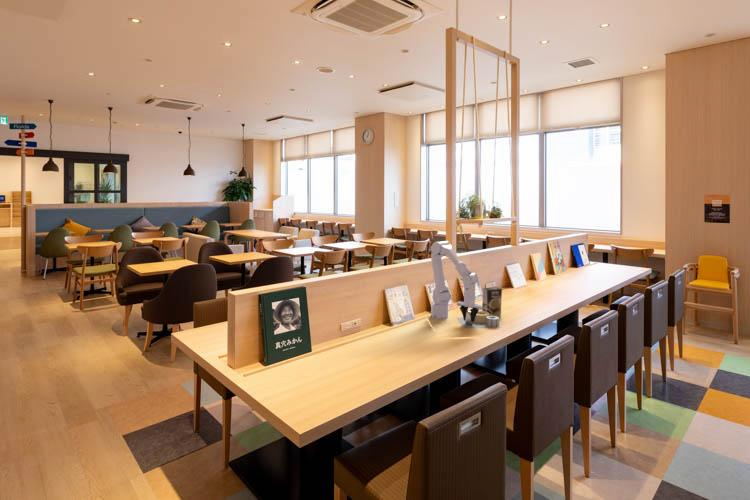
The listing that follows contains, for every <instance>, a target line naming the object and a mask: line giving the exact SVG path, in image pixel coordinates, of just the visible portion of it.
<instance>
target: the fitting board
mask: <svg viewBox="0 0 750 500" xmlns="http://www.w3.org/2000/svg"><path fill="white" fill-rule="evenodd" d="M456 319H457V320H458V322H459V323H460V324H461V325H462V327H463V328H464V329H494V328H495V329H497V328H501V329H502V328H504V327H503V326H502V325H501V324H500V316H499V317H498V316H497V315H493V316H490V313H488V312H485V311H482V310H479V311H478V312H477V314H476V317H475V321H474V322H473V325H466V324H465V320H464V318H463V316H461V317H456Z"/></svg>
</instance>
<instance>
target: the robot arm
mask: <svg viewBox="0 0 750 500" xmlns="http://www.w3.org/2000/svg"><path fill="white" fill-rule="evenodd" d="M430 251H431V253H430V258H431V259H430V260H431V267H432V272H433V277H434V278H433V279H434V284H435V287H434V289H432V297H431V298H432V301H433V303H431V304H430V316H431V318H432V320H433V319H439V320H440V319H441V320H442V319H443V320H445V319H448V317H449V303H450V300H451V298H452V294H451V292H450V289H449V287H448V286H446V281H445V276H444V268H443V262H442V257H443V256H447V257H448V259H449V260H451V262H452V264H453V265H455V270H456V271H457V273H458V275H459V276H460V277H461V280H462V284H463V287H464V291H463V293H464V294H463V295H464V296H463V301H456V306H458V307H459V310H460V312H461V314H462V317H463V318H464V320H465V311H468V310H469V308H470V311H471V322H474V321H475V317H476V314H477V312H478V311H482V307H483V306H482V305H480V304H477V303H476V284H477V283H478V280H479V277H478V275H477V274H476V273H475V272H472V270H471V269H470V268H469V267H468V265H467V263H466V262H463V261H461V260H460V258H459V257H458V255H457V254H456V252H455V250H454V249H453V245H452V244H451V243H450V241H449V240H442V241H434V242H433V243H432V244H431V246H430Z"/></svg>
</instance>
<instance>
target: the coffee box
mask: <svg viewBox="0 0 750 500" xmlns="http://www.w3.org/2000/svg"><path fill="white" fill-rule="evenodd" d="M502 292H503V289H502V288H499V287H497V286H495V287H493V286H492V287H483V288H482V305H481V306H483V307H482V310H481V311H485V312H488V313H490V316H497V317H499V318H500V317H501V316H502V300H503V299H502V296H503V295H502V294H503V293H502Z"/></svg>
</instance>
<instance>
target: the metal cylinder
mask: <svg viewBox="0 0 750 500" xmlns="http://www.w3.org/2000/svg"><path fill="white" fill-rule="evenodd" d="M465 324H466V325H473V322H471V311H470V310H469V309H468V311H465Z"/></svg>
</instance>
